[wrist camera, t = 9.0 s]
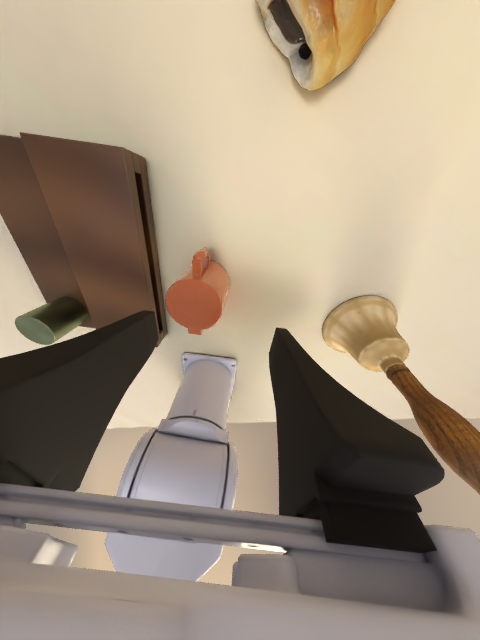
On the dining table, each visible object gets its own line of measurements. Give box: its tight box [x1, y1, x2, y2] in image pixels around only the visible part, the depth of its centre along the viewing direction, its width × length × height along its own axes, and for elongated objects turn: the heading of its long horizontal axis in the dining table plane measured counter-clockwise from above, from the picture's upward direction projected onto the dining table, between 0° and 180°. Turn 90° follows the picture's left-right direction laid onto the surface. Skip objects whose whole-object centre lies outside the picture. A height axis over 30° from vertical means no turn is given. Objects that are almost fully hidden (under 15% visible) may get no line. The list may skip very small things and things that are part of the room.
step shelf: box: [0, 132, 167, 347], centre depth 18 cm, size 18×14×3 cm
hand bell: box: [322, 296, 480, 494], centre depth 15 cm, size 8×8×16 cm
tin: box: [15, 297, 88, 345], centre depth 20 cm, size 4×4×4 cm
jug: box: [166, 247, 230, 335], centre depth 17 cm, size 7×5×6 cm
